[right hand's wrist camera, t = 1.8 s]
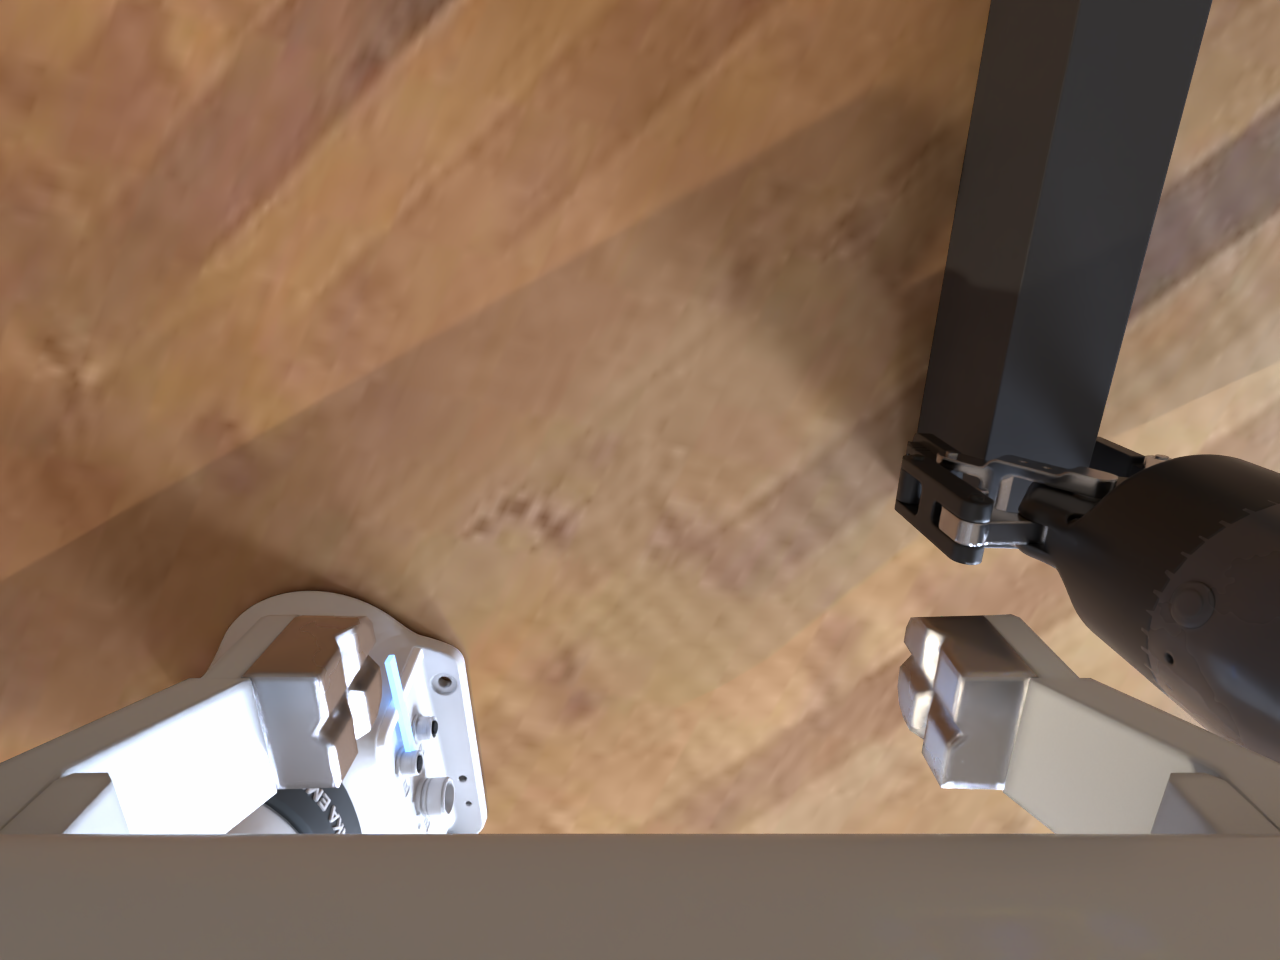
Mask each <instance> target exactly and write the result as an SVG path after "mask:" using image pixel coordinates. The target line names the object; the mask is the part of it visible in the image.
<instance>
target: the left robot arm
mask: <svg viewBox="0 0 1280 960" xmlns="http://www.w3.org/2000/svg"><path fill="white" fill-rule="evenodd" d="M963 473H965V474H968V475H972V476H975V477H978V478H979V479H980V480H981V483H982V486H981V488H975V487H973V486H971V485H970V484H968V483H967V482H965V481H964V480H962V478H963ZM1014 477H1018V478H1022V479H1025V480H1029V481H1033V482H1032V483H1031V484H1030V486H1029V487H1028V489H1027V491H1026V493H1025V495H1024V497H1023V499H1022V501H1021V503H1020V505H1019V508H1018V512H1019V513H1013V512H1006V510H1007V506H1008V501H1009V497H1010V492H1011V488H1012V483H1013V479H1014ZM895 510H896V511H897V512H898V513H899V514H901V515H902V516H903V517H904V518H905V519H906V520H907V521H908V522H910V523H911V524H912V525H913V526H914V527H915V528H916V529H917V530H919V531H920V532H921V533H922V534H923V535H924V536H925V537H926V538H928V539H929V540H930V541H931V542H932V543H933V544H934V545H935V546H936V547H938V548H939V549H940V550H941V551H942V552H943V553H944V554H945V555H947V556H948V557H949V558H950V559H952V560H953V561H956V562H958V563H962V564H968V565H976V564H980V563H981V562H982V557H983V552H984V548H985V545H1004V544H1009V545H1011V546H1014V547H1017V548H1018V549H1019V550H1020V551H1022V552H1023V553H1025V554H1026V555H1028V556H1030V557H1033V558H1035V559H1038V560H1040V561H1042V562H1045V563H1046V564H1049V565H1051V566H1052V567H1054V568H1056V569H1057V570H1058V572H1059V574H1060V576H1061V578H1062V580H1063V582H1064V585H1065V587H1066V589H1067V592H1068V595H1069V597H1070V599H1071V602H1072V604H1073V606H1074V608H1075V610H1076V612H1077V614H1078V615H1079V617H1080V618H1081V620H1082V621H1083V622H1084V623H1085V625H1086V626H1087V627H1088V628H1089V629H1090V630H1091V631H1092V632H1093V633H1094V634H1096V635H1097V636H1098V637H1099V638H1100V639H1101V640H1103V641H1104V642H1105V643H1106V644H1107V645H1108V646H1110V647H1111V648H1112V649H1113V650H1114V651H1116V652H1117V653H1118V654H1119V655H1120V656H1121V657H1123V658H1124V659H1125V660H1126V661H1127V662H1128V663H1130V664H1131V665H1132V666H1133V667H1134V668H1135V669H1137V670H1138V671H1139V672H1140V673H1141V674H1142V675H1144V676H1145V677H1146V678H1147V679H1148V680H1149V681H1150V682H1152V683H1153V684H1154V685H1155V686H1156V687H1157V688H1159V689H1160V690H1161V691H1162V692H1163V693H1164V694H1166V695H1167V696H1168V697H1169V698H1170V699H1171V700H1173V701H1174V702H1175V703H1176V704H1177V705H1179V706H1180V707H1181V708H1182V709H1183V710H1184V711H1186V712H1187V713H1188V714H1189V715H1190V716H1191V717H1193V718H1194V719H1195V720H1196V721H1197V722H1198V723H1199V724H1201V725H1202V726H1203V727H1204V728H1205V729H1206V730H1208V731H1209V732H1211V733H1213V734H1216V735H1218V736H1220V737H1222V738H1224V739H1227V740H1229V741H1231V742H1233V743H1235V744H1238V745H1240V746H1242V747H1244V748H1247V749H1249V750H1251V751H1253V752H1255V753H1258V754H1260V755H1262V756H1264V757H1267V758H1269V759H1271V760H1273V761H1275V762H1278V763H1280V473H1277V472H1274V471H1272V470H1269V469H1266V468H1264V467H1261V466H1258V465H1255V464H1253V463H1250V462H1247V461H1244V460H1241V459H1238V458H1234V457H1229V456H1222V455H1210V454H1209V455H1191V456H1184V457H1178V458H1174V459H1171V458H1169V457H1168V456H1165V455H1155V456H1153V455H1149V456H1143V455H1141V454H1139V453H1136V452H1134V451H1132V450H1129V449H1127V448H1125V447H1122V446H1120V445H1118V444H1115V443H1113V442H1111V441H1108V440H1106V439H1104V438H1101V437H1097V438H1096V442H1095V446H1094V450H1093V454H1092V457H1091V461H1090V465H1089V468H1087V467H1083V466H1079V467H1075V468H1073V469H1066V468H1062V467H1058V466H1054V465H1050V464H1046V463H1042V462H1037V461H1033V460H1029V459H1025V458H1021V457H1017V456H1013V455H1004V456H1001V457H998V458H996V459H993V460H990V461H987V460H983V459H980V458H976V457H972V456H968V455H964V454H961V452H959V451H958V450H956V449H955V448H953V447H952V446H950V445H948V444H947V443H945V442H944V441H942V440H941V439H939V438H938V437H936V436H935V435H933V434H932V433H916V434H915V436H914V438H913V442H908V446H907V452H906V455H905V456H903V460H902V466H901V472H900V478H899V484H898V490H897V497H896V503H895Z"/></svg>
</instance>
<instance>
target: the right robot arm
mask: <svg viewBox="0 0 1280 960" xmlns="http://www.w3.org/2000/svg"><path fill="white" fill-rule="evenodd" d="M904 643H905V644H906V646H907V648H908V649H909V651H910V652H911V654H912V655H911V656H910V657H909V658H908V659H907V660H906V661H905V662H904V663H903V664H902V665H901V666H900V670H899V678H898V696H899V705H900V708H901V712H902V715H903V718H904V720H905V722H906V724H907V726H908V728H909V730H910V731H912V732H913V733H915V734H916V735H918V736H919V737H921V738H922V739H924V742H923V748H922V754H923V756H924V758H925V759H926V761H927V763H928V765H929V767H930V769H931V770H932V772H933V774H934V776H935V778H936V780H937V781H938V783H939V785H940V787H941V788H971V789H1004V790H1003V793H1005V794H1006V795H1007V796H1008V797H1010V798H1011V799H1012V800H1013V801H1015V802H1016V803H1017V804H1018V805H1020V806H1021V807H1022V808H1024V809H1025V810H1026V811H1027V812H1029V813H1030V814H1031V815H1032V816H1034V817H1035V818H1036V819H1037V820H1039V821H1040V822H1041V823H1042V824H1044V825H1045V826H1046V827H1048V828H1049V829H1050V830H1051V831H1053V832H1054V833H1055V834H478V833H479V832H480V831H481V830H482V828H483V826H484V824H485V821H486V819H487V808H486V801H485V794H484V787H483V781H482V774H481V767H480V761H479V754H478V747H477V741H476V734H475V727H474V720H473V714H472V707H471V700H470V694H469V687H468V680H467V674H466V667H465V661H464V657H463V655H462V653H461V652H460V651H459V650H458V649H457V648H455V647H454V646H452V645H450V644H448V643H445V642H442V641H439V640H436V639H433V638H429V637H426V636H422V635H419V634H417V633H415V632H413V631H411V630H410V629H408V628H406V627H405V626H404V625H402V624H401V623H400V622H398V621H397V620H395V619H394V618H393V617H391V616H390V615H388V614H387V613H385V612H384V611H382V610H380V609H378V608H376V607H374V606H372V605H370V604H368V603H366V602H363V601H361V600H358V599H355V598H352V597H349V596H345V595H342V594H337V593H331V592H323V591H297V592H289V593H284V594H280V595H276V596H273V597H270V598H267V599H265V600H263V601H261V602H259V603H257V604H255V605H253V606H252V607H250V608H249V609H247V610H246V611H245V612H243V613H242V614H241V615H240V616H239V617H238V618H237V619H236V620H235V621H234V622H233V623H232V625H231V626H230V627H229V629H228V630H227V632H226V634H225V635H224V637H223V640H222V642H221V644H220V646H219V649H218V651H217V653H216V655H215V657H214V659H213V661H212V663H211V665H210V666H209V668H208V670H207V671H206V673H205V674H204V675H203V676H202V677H201V678H189V679H186V680H184V681H182V682H180V683H178V684H175V685H173V686H171V687H169V688H166V689H164V690H162V691H160V692H158V693H155V694H153V695H151V696H149V697H146V698H144V699H142V700H140V701H138V702H135V703H133V704H131V705H129V706H126V707H124V708H122V709H120V710H118V711H115V712H113V713H111V714H109V715H106V716H104V717H102V718H100V719H98V720H95V721H93V722H91V723H89V724H86V725H84V726H82V727H80V728H78V729H75V730H73V731H71V732H69V733H66V734H64V735H62V736H60V737H57V738H55V739H53V740H51V741H49V742H46V743H44V744H42V745H40V746H37V747H35V748H33V749H31V750H29V751H26V752H24V753H22V754H20V755H17V756H15V757H13V758H11V759H9V760H6V761H4V762H2V763H0V960H1280V763H1278V762H1275V761H1273V760H1271V759H1269V758H1267V757H1264V756H1262V755H1260V754H1258V753H1255V752H1253V751H1251V750H1249V749H1247V748H1244V747H1242V746H1240V745H1238V744H1235V743H1233V742H1231V741H1229V740H1227V739H1224V738H1222V737H1220V736H1218V735H1216V734H1213V733H1211V732H1209V731H1207V730H1204V729H1202V728H1200V727H1198V726H1196V725H1193V724H1191V723H1189V722H1187V721H1184V720H1182V719H1180V718H1178V717H1176V716H1173V715H1171V714H1169V713H1167V712H1165V711H1162V710H1160V709H1158V708H1156V707H1153V706H1151V705H1149V704H1147V703H1145V702H1142V701H1140V700H1138V699H1136V698H1133V697H1131V696H1129V695H1127V694H1125V693H1122V692H1120V691H1118V690H1116V689H1113V688H1111V687H1109V686H1107V685H1105V684H1102V683H1100V682H1098V681H1096V680H1094V679H1091V678H1079V677H1078V676H1077V675H1076V674H1075V673H1074V672H1073V671H1072V670H1071V669H1070V668H1069V667H1068V666H1067V665H1066V664H1065V663H1064V662H1063V661H1062V660H1061V659H1060V658H1059V657H1058V656H1057V655H1056V654H1055V653H1054V652H1053V651H1052V650H1051V649H1050V648H1049V647H1048V646H1047V645H1046V644H1045V643H1044V642H1043V641H1042V640H1041V639H1040V638H1039V637H1038V636H1037V635H1036V634H1035V633H1034V632H1033V631H1032V630H1031V628H1030V627H1029V626H1028V625H1027V624H1026V623H1025V622H1024V621H1023V620H1022V619H1021V618H1019V617H1017V616H1014V615H1011V614H1007V615H982V616H945V617H913V618H910V620H909V623H908V625H907V627H906V632H905V638H904ZM443 676H445V677H448V678H449V679H450V681H446V680H444V679H443V678H442V677H443ZM450 833H451V834H450Z"/></svg>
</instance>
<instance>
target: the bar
mask: <svg viewBox="0 0 1280 960" xmlns="http://www.w3.org/2000/svg"><path fill="white" fill-rule="evenodd" d="M1211 3H1212V0H991V5H990V11H989V17H988V23H987V29H986V34H985V40H984V46H983V52H982V58H981V64H980V69H979V75H978V81H977V87H976V93H975V99H974V104H973V110H972V116H971V122H970V128H969V134H968V139H967V145H966V151H965V157H964V163H963V169H962V174H961V180H960V186H959V192H958V198H957V204H956V209H955V215H954V221H953V227H952V233H951V239H950V244H949V250H948V256H947V262H946V268H945V274H944V279H943V285H942V291H941V297H940V303H939V309H938V314H937V320H936V326H935V332H934V338H933V344H932V349H931V355H930V361H929V367H928V373H927V379H926V384H925V390H924V396H923V402H922V408H921V414H920V419H919V425H918V431H917V433H932V434H933V435H935V436H936V437H938V438H939V439H941V440H942V441H944V442H945V443H947V444H948V445H950V446H952V447H953V448H955V449H956V450H958V451H959V452H961V454H964V455H968V456H972V457H976V458H980V459H983V460H987V461H990V460H993V459H996V458H998V457H1001V456H1004V455H1013V456H1017V457H1021V458H1025V459H1029V460H1033V461H1037V462H1042V463H1046V464H1050V465H1054V466H1058V467H1062V468H1066V469H1073V468H1075V467H1079V466H1083V467H1087V468H1089V465H1090V461H1091V457H1092V454H1093V450H1094V446H1095V442H1096V438H1097V435H1098V431H1099V427H1100V423H1101V420H1102V416H1103V412H1104V408H1105V404H1106V401H1107V397H1108V393H1109V389H1110V386H1111V382H1112V378H1113V374H1114V370H1115V367H1116V363H1117V359H1118V355H1119V351H1120V348H1121V344H1122V340H1123V336H1124V333H1125V329H1126V325H1127V321H1128V317H1129V314H1130V310H1131V306H1132V302H1133V299H1134V295H1135V291H1136V287H1137V283H1138V280H1139V276H1140V272H1141V268H1142V264H1143V261H1144V257H1145V253H1146V249H1147V246H1148V242H1149V238H1150V234H1151V230H1152V227H1153V223H1154V219H1155V215H1156V212H1157V208H1158V204H1159V200H1160V196H1161V193H1162V189H1163V185H1164V181H1165V177H1166V174H1167V170H1168V166H1169V162H1170V159H1171V155H1172V151H1173V147H1174V143H1175V140H1176V136H1177V132H1178V128H1179V124H1180V121H1181V117H1182V113H1183V109H1184V106H1185V102H1186V98H1187V94H1188V90H1189V87H1190V83H1191V79H1192V75H1193V72H1194V68H1195V64H1196V60H1197V56H1198V53H1199V49H1200V45H1201V41H1202V37H1203V34H1204V30H1205V26H1206V22H1207V19H1208V15H1209V11H1210V7H1211ZM962 480H964V481H965V482H967V483H968V484H970V485H971V486H973V487H975V488H981V486H982V483H981V480H980V479H979V478H978V477H975V476H972V475H968V474H965V473H963V478H962ZM1032 482H1033V481H1029V480H1025V479H1022V478H1018V477H1014V479H1013V483H1012V488H1011V492H1010V497H1009V501H1008V506H1007V510H1006V512H1013V513H1019V512H1018V508H1019V505H1020V503H1021V501H1022V499H1023V497H1024V495H1025V493H1026V491H1027V489H1028V487H1029V486H1030V484H1031V483H1032ZM985 548H1017V547H1014V546H1011V545H1009V544H1004V545H985Z"/></svg>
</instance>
